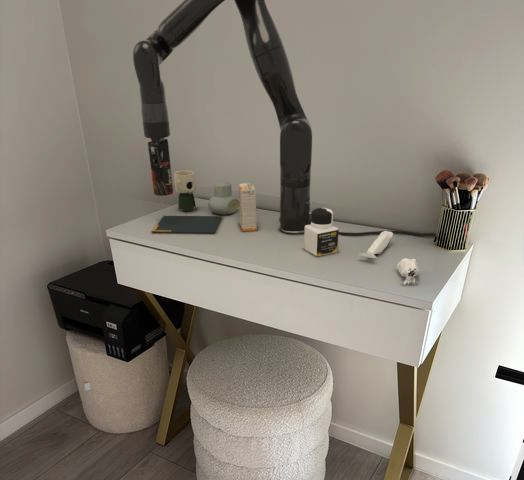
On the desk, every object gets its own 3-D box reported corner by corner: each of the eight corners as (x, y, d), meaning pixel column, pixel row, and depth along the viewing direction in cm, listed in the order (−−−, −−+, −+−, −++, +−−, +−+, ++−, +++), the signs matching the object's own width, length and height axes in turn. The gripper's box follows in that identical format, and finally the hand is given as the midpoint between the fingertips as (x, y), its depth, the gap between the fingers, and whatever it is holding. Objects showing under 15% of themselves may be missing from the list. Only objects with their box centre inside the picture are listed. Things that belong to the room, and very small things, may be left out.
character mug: (188, 215, 183) (184, 177, 177) (170, 213, 186) (166, 175, 179) (203, 206, 192) (201, 169, 185) (186, 204, 194) (183, 168, 188)
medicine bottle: (316, 257, 150) (318, 215, 143) (303, 249, 155) (304, 208, 149) (337, 252, 153) (340, 211, 146) (324, 244, 158) (326, 204, 152)
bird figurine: (423, 288, 134) (413, 264, 141) (423, 267, 130) (413, 243, 137) (403, 292, 135) (394, 267, 142) (403, 271, 130) (394, 247, 137)
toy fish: (396, 244, 157) (397, 231, 155) (375, 265, 144) (376, 251, 142) (378, 241, 160) (379, 228, 158) (356, 262, 146) (357, 248, 144)
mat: (221, 217, 181) (221, 215, 180) (214, 234, 167) (214, 231, 167) (164, 217, 182) (163, 215, 182) (152, 233, 169) (151, 231, 168)
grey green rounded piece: (224, 218, 180) (222, 188, 175) (205, 214, 184) (203, 185, 179) (242, 210, 188) (241, 181, 183) (224, 206, 192) (222, 178, 186)
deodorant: (171, 195, 163) (166, 144, 155) (152, 195, 163) (145, 144, 155) (174, 190, 168) (169, 140, 160) (156, 190, 168) (150, 140, 160)
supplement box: (257, 230, 169) (256, 189, 162) (242, 231, 169) (240, 190, 162) (254, 222, 176) (253, 182, 169) (239, 223, 176) (238, 183, 169)
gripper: (162, 123, 148) (168, 184, 157) (173, 115, 160) (179, 172, 169) (135, 123, 149) (143, 184, 158) (149, 115, 161) (155, 172, 170)
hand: (162, 178), depth 163 cm, fingers closed on deodorant, 6 cm apart
